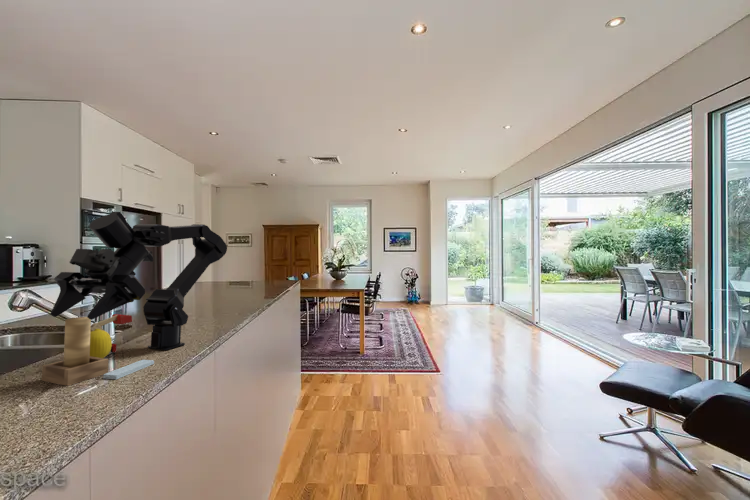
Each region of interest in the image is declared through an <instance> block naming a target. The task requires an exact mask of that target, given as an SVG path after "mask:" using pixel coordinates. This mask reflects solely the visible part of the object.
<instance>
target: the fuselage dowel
mask: <svg viewBox="0 0 750 500" xmlns="http://www.w3.org/2000/svg"><path fill="white" fill-rule="evenodd" d="M64 320H65V322H64V343H63V344H64V345H63V350H64V351H63V360H64V367H67V368H73V367H76V366H80V365H84V364H87V363H89V357H90V330H91V325H92V322H91V321H92V320H90V319H89V318H88V317H87V316H78V317H77V316H76V317H70V318H66V319H64Z"/></svg>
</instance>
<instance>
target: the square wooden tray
mask: <svg viewBox="0 0 750 500" xmlns="http://www.w3.org/2000/svg"><path fill="white" fill-rule="evenodd" d="M41 366H42V367H41V381H42V382H45V383H52V384H55V385H61V386H68V387H69V386H71V385H75V384H78V383H82V382H85V381H87V380H91V379H94V378H97V377H100V376H103V374H106V373H109V358H106V357H105V358H98V357H92V356H90V357H89V363H87V364H84V365H80V366H76V367H73V368H67V367H64V359H63V360H60V361H56V362H52V363H47V364H43V365H41Z"/></svg>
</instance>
